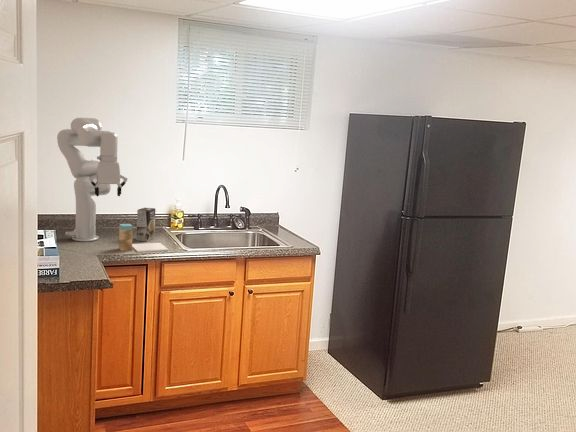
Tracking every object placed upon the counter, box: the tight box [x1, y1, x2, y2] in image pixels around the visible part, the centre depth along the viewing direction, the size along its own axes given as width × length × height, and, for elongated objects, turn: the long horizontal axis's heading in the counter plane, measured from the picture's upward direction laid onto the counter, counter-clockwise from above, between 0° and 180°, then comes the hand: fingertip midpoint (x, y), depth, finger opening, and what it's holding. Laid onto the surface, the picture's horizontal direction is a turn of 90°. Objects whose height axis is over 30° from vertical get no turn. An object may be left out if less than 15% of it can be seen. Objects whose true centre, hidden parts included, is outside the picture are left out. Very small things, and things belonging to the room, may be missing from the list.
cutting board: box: [132, 242, 169, 253], centre depth 288 cm, size 15×14×1 cm
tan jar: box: [118, 223, 134, 252], centre depth 282 cm, size 5×5×12 cm
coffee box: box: [136, 207, 156, 242], centre depth 305 cm, size 9×6×16 cm
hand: (108, 195), depth 274 cm, fingers open, 9 cm apart
